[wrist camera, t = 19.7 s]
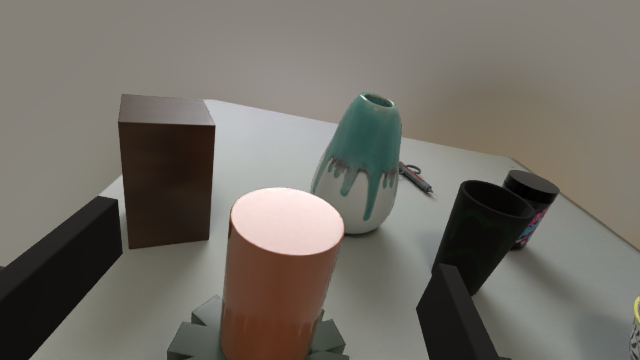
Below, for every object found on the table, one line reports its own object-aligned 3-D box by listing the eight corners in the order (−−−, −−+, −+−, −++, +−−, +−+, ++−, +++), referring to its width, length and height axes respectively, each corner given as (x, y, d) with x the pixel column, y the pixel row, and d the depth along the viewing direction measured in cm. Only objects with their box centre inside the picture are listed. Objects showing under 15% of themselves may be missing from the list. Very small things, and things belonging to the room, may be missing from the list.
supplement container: (478, 239, 50) (510, 180, 45) (478, 220, 55) (507, 165, 51) (526, 258, 48) (564, 199, 43) (521, 236, 53) (554, 181, 49)
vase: (399, 241, 45) (448, 117, 37) (323, 249, 40) (360, 109, 32) (360, 196, 54) (392, 89, 46) (294, 198, 49) (318, 79, 41)
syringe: (420, 202, 57) (424, 194, 56) (368, 156, 71) (370, 149, 70) (452, 200, 60) (456, 192, 59) (397, 157, 74) (399, 150, 73)
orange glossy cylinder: (210, 377, 22) (220, 249, 17) (226, 292, 28) (237, 181, 23) (316, 378, 23) (355, 261, 18) (309, 297, 29) (336, 193, 24)
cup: (489, 278, 42) (536, 200, 36) (481, 316, 36) (537, 228, 30) (431, 249, 45) (466, 173, 39) (415, 280, 39) (454, 194, 33)
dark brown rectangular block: (128, 249, 34) (117, 121, 28) (130, 206, 40) (121, 93, 34) (209, 239, 38) (215, 125, 31) (199, 201, 44) (203, 99, 37)
